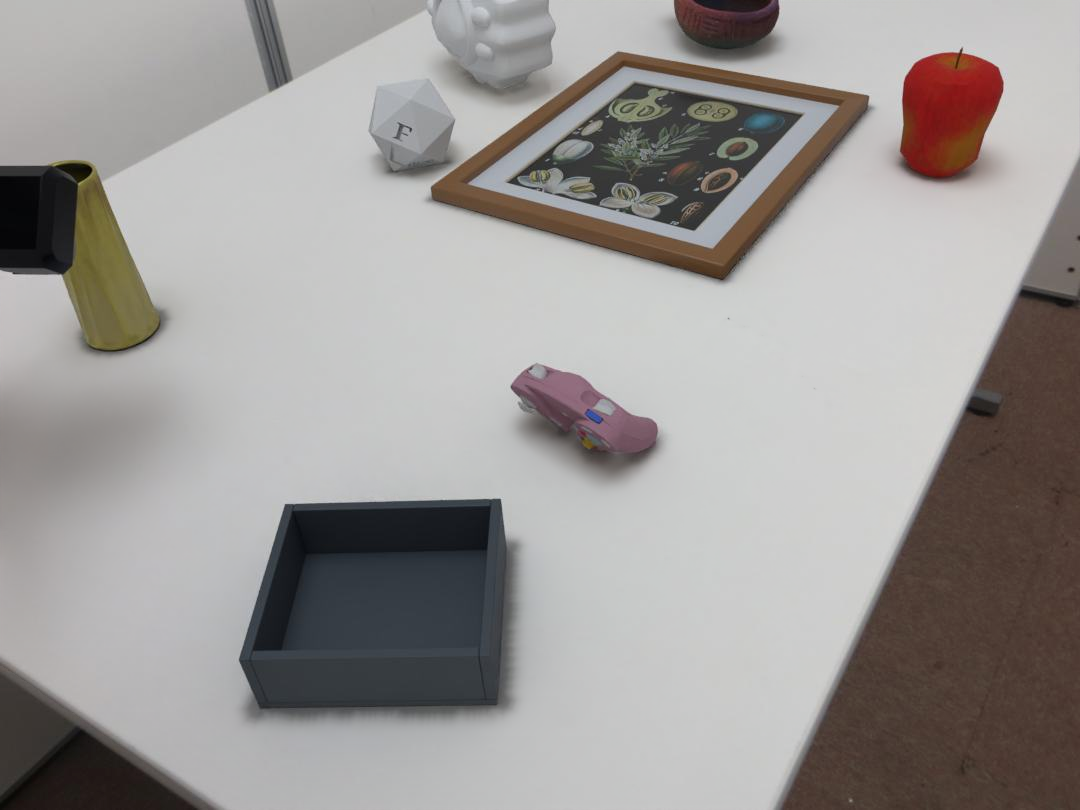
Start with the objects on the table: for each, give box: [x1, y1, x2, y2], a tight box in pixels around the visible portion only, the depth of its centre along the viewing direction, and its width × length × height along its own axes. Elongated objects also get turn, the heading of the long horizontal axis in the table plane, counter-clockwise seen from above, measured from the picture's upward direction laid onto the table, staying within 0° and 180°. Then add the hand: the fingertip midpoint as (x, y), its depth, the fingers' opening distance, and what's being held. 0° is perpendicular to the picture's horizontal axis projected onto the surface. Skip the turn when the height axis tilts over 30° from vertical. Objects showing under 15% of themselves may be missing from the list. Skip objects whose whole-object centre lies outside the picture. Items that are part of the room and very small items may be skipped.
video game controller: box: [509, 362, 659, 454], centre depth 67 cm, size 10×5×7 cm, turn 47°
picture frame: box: [430, 50, 870, 280], centre depth 101 cm, size 31×2×38 cm
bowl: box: [673, 0, 781, 51], centre depth 121 cm, size 16×13×8 cm
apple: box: [899, 46, 1005, 179], centre depth 92 cm, size 9×8×12 cm
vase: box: [45, 159, 161, 351], centre depth 78 cm, size 6×6×14 cm
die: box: [367, 77, 456, 173], centre depth 100 cm, size 8×9×10 cm
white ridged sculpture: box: [426, 0, 557, 90], centre depth 113 cm, size 11×18×16 cm, turn 33°
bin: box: [238, 498, 508, 709], centre depth 56 cm, size 13×11×4 cm
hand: (11, 251), depth 68 cm, fingers open, 9 cm apart
